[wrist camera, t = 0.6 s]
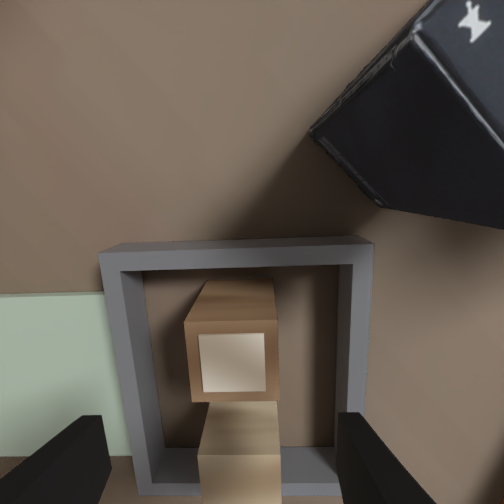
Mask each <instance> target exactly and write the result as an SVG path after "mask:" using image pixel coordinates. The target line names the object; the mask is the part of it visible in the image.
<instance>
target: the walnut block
mask: <svg viewBox="0 0 504 504" xmlns="http://www.w3.org/2000/svg"><path fill="white" fill-rule="evenodd" d="M184 330H185V339H186V349H187V359H188V368H189V378H190V388H191V397H192V402H239V401H279V357H278V318H277V311H276V303H275V295H274V287H273V279H240V280H207V282H206V283H205V285H204V287H203V289H202V291H201V292H200V294H199V296H198V298H197V299H196V301H195V303H194V305H193V306H192V308H191V310H190V312H189V314H188V315H187V317H186V319H185V321H184Z"/></svg>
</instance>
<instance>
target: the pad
mask: <svg viewBox="0 0 504 504" xmlns="http://www.w3.org/2000/svg"><path fill="white" fill-rule="evenodd" d="M82 415H102V419H103V425H104V430H105V435H106V440H107V446H108V451H109V456H132V454H131V448H130V442H129V436H128V430H127V424H126V418H125V412H124V406H123V400H122V394H121V388H120V382H119V376H118V370H117V364H116V358H115V352H114V346H113V340H112V335H111V329H110V323H109V317H108V311H107V305H106V299H105V293H104V291H98V292H63V293H27V294H0V456H31V455H32V454H33V453H34V452H36V451H37V450H38V449H39V448H41V447H42V446H43V445H44V444H46V443H47V442H48V441H50V440H51V439H52V438H53V437H55V436H56V435H57V434H58V433H60V432H61V431H62V430H63V429H65V428H66V427H67V426H69V425H70V424H71V423H72V422H74V421H75V420H76V419H78V418H79V417H81V416H82Z"/></svg>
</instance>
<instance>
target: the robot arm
mask: <svg viewBox="0 0 504 504" xmlns="http://www.w3.org/2000/svg"><path fill="white" fill-rule="evenodd" d="M111 469H112V466H111V461H110V456H109V451H108V446H107V440H106V435H105V430H104V425H103V419H102V415H82V416H81V417H79V418H78V419H76V420H75V421H74V422H72V423H71V424H70V425H69V426H67V427H66V428H65V429H63V430H62V431H61V432H60V433H58V434H57V435H56V436H55V437H53V438H52V439H51V440H50V441H48V442H47V443H46V444H44V445H43V446H42V447H41V448H39V449H38V450H37V451H36V452H34V453H33V454H32V455H31V456H29V457H28V458H27V459H26V460H24V461H23V462H22V463H20V464H19V465H18V466H17V467H15V468H14V469H13V470H12V471H10V472H9V473H8V474H6V475H5V476H4V477H3V478H1V479H0V504H98V502H99V500H100V498H101V495H102V493H103V490H104V488H105V485H106V482H107V480H108V477H109V475H110V472H111ZM336 470H337V474H338V479H339V484H340V489H341V494H342V498H343V503H344V504H436V503H435V502H434V500H433V499H432V498H431V497H430V496H429V495H428V494H427V493H426V492H425V490H424V489H423V488H422V487H421V486H420V485H419V484H418V482H417V481H416V480H415V479H414V478H413V477H412V476H411V474H410V473H409V472H408V471H407V470H406V469H405V468H404V466H403V465H402V464H401V463H400V462H399V461H398V459H397V458H396V457H395V456H394V455H393V453H392V452H391V451H390V450H389V448H388V447H387V446H386V445H385V444H384V442H383V441H382V440H381V439H380V437H379V436H378V435H377V434H376V432H375V431H374V430H373V429H372V427H371V426H370V425H369V424H368V422H367V421H366V420H365V418H364V417H363V416H362V415H361V414H360V413H359V412H338V425H337V455H336Z"/></svg>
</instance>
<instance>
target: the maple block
mask: <svg viewBox="0 0 504 504" xmlns="http://www.w3.org/2000/svg"><path fill="white" fill-rule="evenodd" d="M197 457H198V466H199V476H200V486H201V495H202V504H282V500H281V456H280V441H279V427H278V414H277V401H239V402H210V404H209V408H208V412H207V416H206V421H205V425H204V429H203V433H202V437H201V442H200V446H199V450H198V454H197Z"/></svg>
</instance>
